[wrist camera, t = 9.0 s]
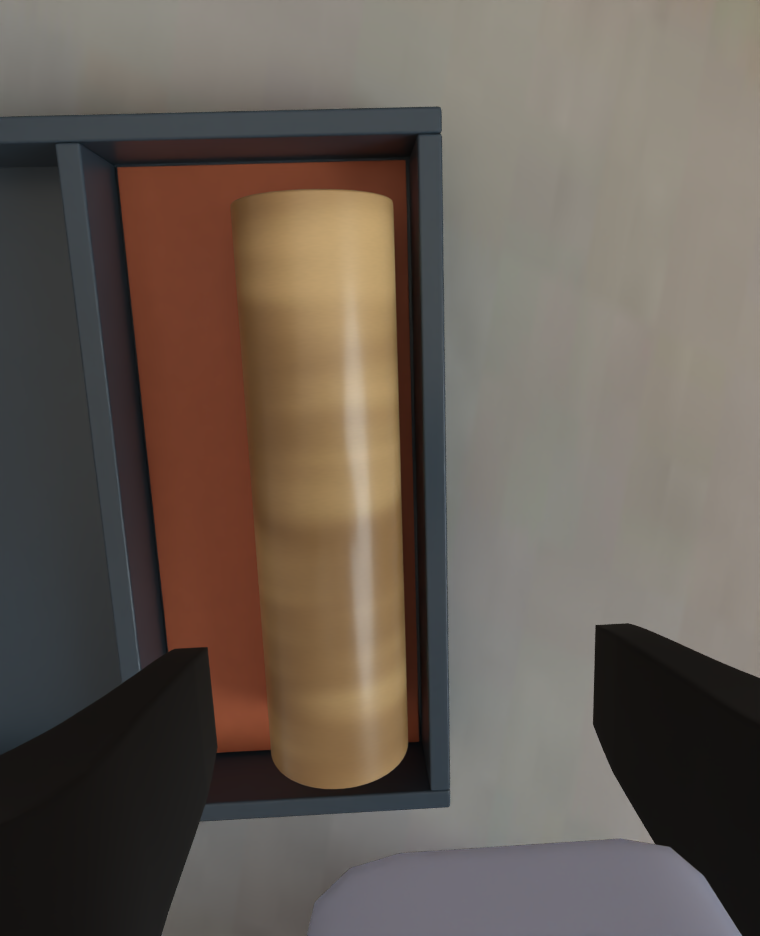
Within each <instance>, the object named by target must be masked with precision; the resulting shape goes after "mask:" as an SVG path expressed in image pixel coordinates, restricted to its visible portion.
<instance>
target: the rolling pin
mask: <svg viewBox="0 0 760 936" xmlns="http://www.w3.org/2000/svg"><path fill="white" fill-rule="evenodd" d="M230 209H231V222H232V236H233V249H234V263H235V276H236V289H237V303H238V316H239V329H240V343H241V356H242V370H243V383H244V396H245V410H246V423H247V436H248V450H249V463H250V477H251V490H252V503H253V517H254V530H255V543H256V557H257V570H258V584H259V597H260V610H261V624H262V637H263V650H264V664H265V677H266V691H267V704H268V717H269V731H270V744H271V756H272V759H273V762H274V764H275V765H276V767H277V768H278V769H279V771H280V772H281V773H282V774H284V775H285V776H286V777H288V778H289V779H291V780H293V781H295V782H297V783H299V784H302V785H305V786H309V787H314V788H321V789H345V788H351V787H357V786H361V785H365V784H367V783H370V782H373V781H375V780H378V779H380V778H382V777H383V776H385V775H387V774H388V773H390V772H391V771H392V770H394V769H395V768H396V767H397V766H398V765H399V764H400V762H401V761H402V760H403V758H404V756H405V754H406V752H407V748H408V714H407V678H406V642H405V606H404V570H403V534H402V498H401V462H400V426H399V390H398V354H397V318H396V282H395V246H394V210H393V201H392V200H391V199H390V198H389V197H386V196H384V195H380V194H376V193H371V192H365V191H357V190H343V189H298V190H283V191H273V192H265V193H259V194H253V195H249V196H245V197H242V198H239V199H237V200H235V201H233V202H232V203H231V206H230Z"/></svg>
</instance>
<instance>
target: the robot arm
mask: <svg viewBox="0 0 760 936" xmlns="http://www.w3.org/2000/svg"><path fill="white" fill-rule="evenodd" d="M593 725H594V728H595V730H596V733H597V736H598V738H599V741H600V743H601V746H602V748H603V751H604V753H605V755H606V758H607V760H608V762H609V764H610V767H611V769H612V771H613V773H614V775H615V777H616V778H617V780H618V782H619V784H620V785H621V787H622V789H623V791H624V792H625V794H626V796H627V797H628V799H629V801H630V803H631V804H632V806H633V808H634V809H635V811H636V813H637V814H638V816H639V818H640V819H641V821H642V823H643V824H644V826H645V828H646V829H647V831H648V833H649V834H650V836H651V838H652V839H653V841H654V843H655V844H656V845H655V844H650V843H644V842H638V841H632V840H626V839H606V840H591V841H576V842H561V843H545V844H530V845H515V846H500V847H485V848H469V849H454V850H439V851H424V852H408V853H399V854H395V855H392V856H389V857H385V858H382V859H379V860H375V861H372V862H369V863H365V864H362V865H359V866H355V867H352V868H349V869H348V870H347V871H346V872H345V873H344V874H343V875H342V876H341V877H340V878H339V879H338V880H337V881H336V882H335V883H334V884H333V885H332V886H331V887H330V888H329V889H328V890H327V891H326V892H325V893H324V894H323V895H322V896H321V897H320V898H319V899H318V900H317V901H316V902H315V903H314V908H313V912H312V916H311V920H310V924H309V928H308V933H307V936H760V678H758V677H755V676H753V675H750V674H748V673H745V672H743V671H740V670H738V669H735V668H733V667H731V666H728V665H726V664H723V663H721V662H719V661H717V660H714V659H712V658H710V657H707V656H705V655H703V654H701V653H699V652H696V651H694V650H692V649H690V648H687V647H685V646H683V645H681V644H679V643H676V642H674V641H672V640H670V639H668V638H665V637H663V636H661V635H659V634H656V633H654V632H651V631H649V630H647V629H644V628H641V627H639V626H636V625H632V624H628V623H627V624H609V625H596V632H595V670H594V709H593ZM217 748H218V746H217V736H216V726H215V716H214V706H213V696H212V686H211V676H210V666H209V656H208V647H197V648H179V649H173V650H171V651H169V652H167V653H166V654H164V655H162V656H161V657H159V658H158V659H156V660H155V661H153V662H152V663H150V664H149V665H148V666H146V667H145V668H143V669H142V670H141V671H139V672H138V673H136V674H135V675H133V676H132V677H131V678H129V679H128V680H126V681H125V682H123V683H122V684H121V685H119V686H118V687H116V688H115V689H113V690H112V691H110V692H109V693H108V694H106V695H105V696H103V697H102V698H100V699H98V700H97V701H95V702H94V703H92V704H90V705H89V706H87V707H86V708H84V709H83V710H81V711H79V712H78V713H76V714H75V715H73V716H72V717H70V718H68V719H67V720H65V721H64V722H62V723H60V724H59V725H57V726H55V727H53V728H52V729H50V730H48V731H46V732H44V733H43V734H41V735H39V736H37V737H35V738H33V739H31V740H29V741H27V742H25V743H23V744H21V745H19V746H17V747H16V748H14V749H12V750H10V751H7V752H5V753H3V754H1V755H0V936H161V935H162V931H163V928H164V925H165V921H166V918H167V915H168V911H169V909H170V906H171V903H172V900H173V897H174V894H175V891H176V888H177V886H178V883H179V880H180V877H181V874H182V871H183V868H184V865H185V862H186V860H187V857H188V854H189V851H190V848H191V845H192V842H193V839H194V837H195V834H196V831H197V828H198V825H199V822H200V819H201V816H202V813H203V810H204V807H205V804H206V801H207V798H208V794H209V789H210V784H211V779H212V775H213V769H214V764H215V759H216V753H217Z"/></svg>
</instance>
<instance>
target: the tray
mask: <svg viewBox="0 0 760 936" xmlns="http://www.w3.org/2000/svg"><path fill="white" fill-rule="evenodd" d="M441 131H442V114H441V108H440V107H401V108H358V109H315V110H272V111H228V112H185V113H142V114H99V115H55V116H12V117H0V755H1V754H3V753H5V752H7V751H10V750H12V749H14V748H16V747H17V746H19V745H21V744H23V743H25V742H27V741H29V740H31V739H33V738H35V737H37V736H39V735H41V734H43V733H44V732H46V731H48V730H50V729H52V728H53V727H55V726H57V725H59V724H60V723H62V722H64V721H65V720H67V719H68V718H70V717H72V716H73V715H75V714H76V713H78V712H79V711H81V710H83V709H84V708H86V707H87V706H89V705H90V704H92V703H94V702H95V701H97V700H98V699H100V698H102V697H103V696H105V695H106V694H108V693H109V692H110V691H112V690H113V689H115V688H116V687H118V686H119V685H121V684H122V683H123V682H125V681H126V680H128V679H129V678H131V677H132V676H133V675H135V674H136V673H138V672H139V671H141V670H142V669H143V668H145V667H146V666H148V665H149V664H150V663H152V662H153V661H155V660H156V659H158V658H159V657H161V656H162V655H164V654H166V653H167V652H169V651H171V650H173V649H179V648H197V647H208V656H209V666H210V676H211V686H212V696H213V706H214V716H215V726H216V736H217V746H218V748H217V753H216V759H215V764H214V769H213V775H212V779H211V784H210V789H209V794H208V798H207V801H206V804H205V807H204V810H203V813H202V816H201V819H200V821H216V820H234V819H251V818H268V817H286V816H303V815H320V814H338V813H355V812H373V811H390V810H407V809H425V808H442V807H449V806H450V743H449V664H448V585H447V506H446V428H445V349H444V270H443V191H442V136H441V134H440V133H441ZM298 189H343V190H357V191H365V192H371V193H376V194H380V195H384V196H386V197H389V198H390V199H391V200H392V201H393V210H394V246H395V282H396V318H397V354H398V390H399V426H400V462H401V498H402V534H403V570H404V606H405V642H406V678H407V714H408V748H407V752H406V754H405V756H404V758H403V760H402V761H401V762H400V764H399V765H398V766H397V767H396V768H395V769H394V770H392V771H391V772H390V773H388V774H387V775H385V776H383V777H382V778H380V779H378V780H375V781H373V782H370V783H367V784H365V785H361V786H357V787H351V788H345V789H321V788H314V787H309V786H305V785H302V784H299V783H297V782H295V781H293V780H291V779H289V778H288V777H286V776H285V775H284V774H282V773H281V772H280V771H279V769H278V768H277V767H276V765H275V764H274V762H273V759H272V756H271V744H270V731H269V717H268V704H267V691H266V677H265V664H264V650H263V637H262V624H261V610H260V597H259V584H258V570H257V557H256V543H255V530H254V517H253V503H252V490H251V477H250V463H249V450H248V436H247V423H246V410H245V396H244V383H243V370H242V356H241V343H240V329H239V316H238V303H237V289H236V276H235V263H234V249H233V236H232V222H231V209H230V206H231V203H232V202H233V201H235V200H237V199H239V198H242V197H245V196H249V195H253V194H259V193H265V192H273V191H283V190H298Z"/></svg>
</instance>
